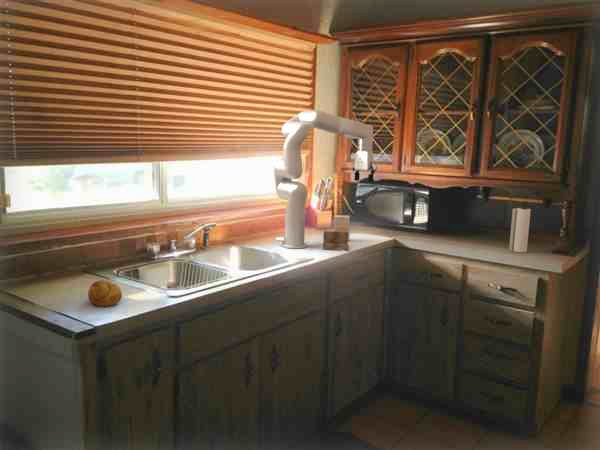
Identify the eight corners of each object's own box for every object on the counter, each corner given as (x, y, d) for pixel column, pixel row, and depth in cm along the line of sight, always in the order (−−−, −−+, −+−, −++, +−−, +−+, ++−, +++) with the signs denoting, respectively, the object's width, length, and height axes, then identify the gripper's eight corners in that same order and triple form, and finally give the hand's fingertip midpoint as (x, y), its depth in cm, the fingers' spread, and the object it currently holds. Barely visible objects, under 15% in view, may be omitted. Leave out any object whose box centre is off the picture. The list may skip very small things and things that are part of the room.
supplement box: (349, 239, 283) (350, 215, 281) (349, 241, 278) (350, 216, 276) (333, 239, 284) (334, 214, 282) (333, 241, 279) (334, 216, 277)
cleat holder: (322, 249, 257) (323, 235, 256) (323, 244, 269) (323, 231, 267) (347, 250, 256) (348, 236, 255) (347, 245, 268) (348, 232, 267)
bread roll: (84, 299, 175) (83, 275, 173) (115, 295, 180) (114, 271, 179) (92, 310, 164) (91, 285, 163) (125, 305, 169) (124, 281, 168)
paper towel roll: (528, 251, 264) (532, 208, 261) (523, 253, 260) (527, 209, 256) (514, 249, 269) (518, 207, 266) (508, 251, 265) (512, 208, 261)
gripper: (348, 147, 285) (346, 180, 288) (372, 149, 273) (371, 182, 276) (357, 147, 290) (356, 179, 293) (382, 149, 278) (380, 182, 280)
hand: (363, 181), depth 284 cm, fingers open, 9 cm apart
